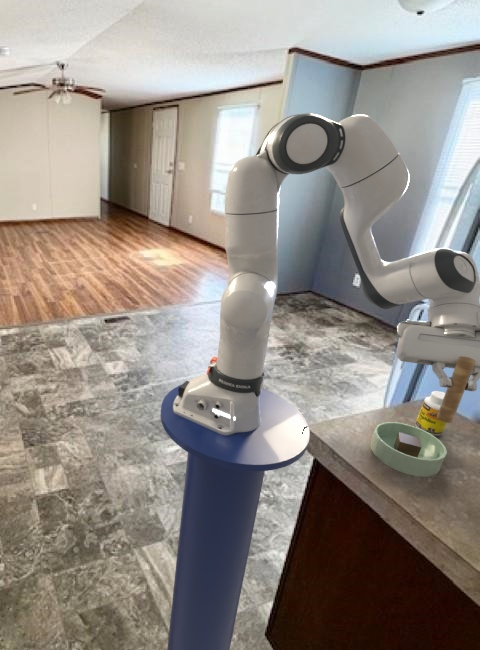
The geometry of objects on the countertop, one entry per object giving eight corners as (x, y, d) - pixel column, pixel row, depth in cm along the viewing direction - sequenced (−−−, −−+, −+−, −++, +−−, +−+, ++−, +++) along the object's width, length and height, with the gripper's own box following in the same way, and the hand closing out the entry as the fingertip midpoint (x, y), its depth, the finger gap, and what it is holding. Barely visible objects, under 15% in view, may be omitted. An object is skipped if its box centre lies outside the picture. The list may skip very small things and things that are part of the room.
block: (394, 455, 96) (399, 441, 95) (393, 445, 99) (398, 431, 98) (416, 461, 94) (421, 447, 93) (414, 451, 97) (419, 437, 96)
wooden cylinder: (437, 420, 87) (460, 360, 81) (435, 414, 89) (457, 355, 84) (453, 424, 86) (477, 363, 80) (451, 417, 88) (474, 358, 82)
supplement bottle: (409, 424, 107) (422, 390, 103) (425, 421, 109) (438, 387, 105) (430, 438, 103) (445, 403, 99) (447, 434, 104) (462, 399, 100)
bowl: (370, 463, 95) (376, 447, 93) (369, 430, 105) (374, 415, 104) (444, 485, 89) (451, 468, 87) (435, 448, 99) (441, 433, 98)
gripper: (402, 312, 89) (403, 375, 84) (525, 325, 82) (533, 394, 78) (391, 324, 95) (391, 383, 90) (505, 337, 88) (511, 401, 83)
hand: (458, 388), depth 84 cm, fingers closed on wooden cylinder, 2 cm apart
